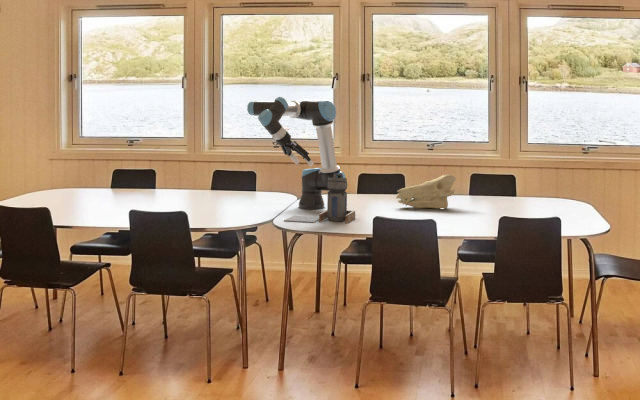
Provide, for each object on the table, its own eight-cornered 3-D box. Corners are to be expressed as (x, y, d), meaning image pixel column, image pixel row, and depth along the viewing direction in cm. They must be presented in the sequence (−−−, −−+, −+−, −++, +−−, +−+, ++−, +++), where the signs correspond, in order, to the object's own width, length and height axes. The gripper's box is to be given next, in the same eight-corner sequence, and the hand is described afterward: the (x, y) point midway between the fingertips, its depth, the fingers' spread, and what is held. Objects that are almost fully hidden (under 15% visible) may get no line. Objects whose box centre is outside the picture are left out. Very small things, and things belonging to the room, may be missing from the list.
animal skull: (457, 210, 439) (458, 175, 437) (397, 209, 437) (398, 175, 434) (450, 206, 454) (452, 173, 452) (393, 206, 452) (394, 173, 449)
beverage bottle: (349, 218, 400) (350, 171, 396) (343, 222, 387) (344, 174, 384) (331, 217, 403) (332, 171, 399) (324, 221, 390) (325, 173, 387)
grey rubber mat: (294, 216, 405) (294, 215, 405) (322, 218, 401) (322, 216, 401) (283, 221, 388) (283, 220, 388) (313, 222, 384) (313, 221, 384)
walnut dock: (327, 216, 405) (327, 209, 405) (354, 218, 401) (355, 210, 401) (319, 221, 388) (319, 214, 388) (347, 223, 384) (347, 215, 384)
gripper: (264, 139, 393) (288, 167, 403) (289, 141, 373) (314, 171, 383) (273, 129, 395) (296, 157, 406) (298, 131, 375) (322, 160, 385)
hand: (305, 164), depth 394 cm, fingers open, 13 cm apart
